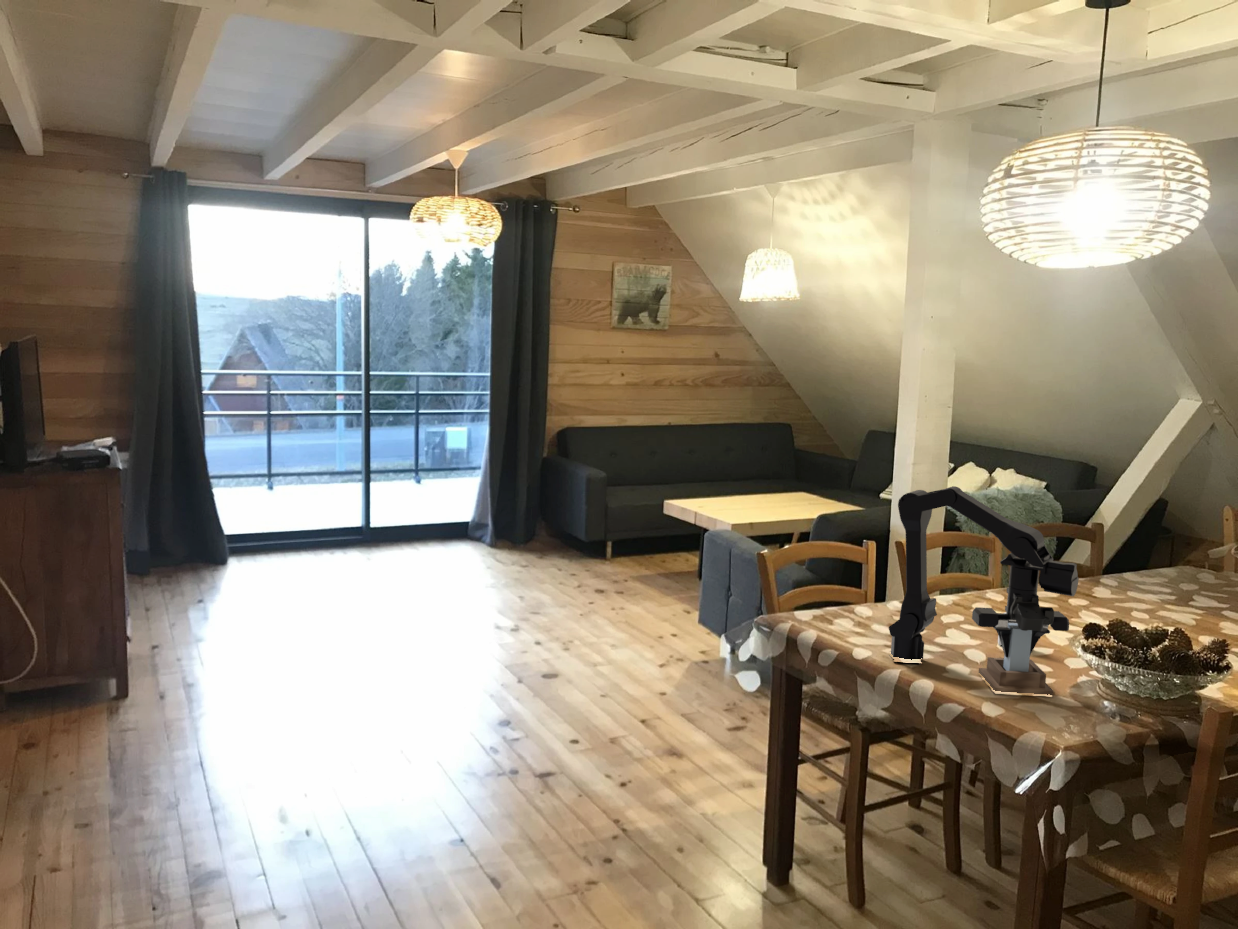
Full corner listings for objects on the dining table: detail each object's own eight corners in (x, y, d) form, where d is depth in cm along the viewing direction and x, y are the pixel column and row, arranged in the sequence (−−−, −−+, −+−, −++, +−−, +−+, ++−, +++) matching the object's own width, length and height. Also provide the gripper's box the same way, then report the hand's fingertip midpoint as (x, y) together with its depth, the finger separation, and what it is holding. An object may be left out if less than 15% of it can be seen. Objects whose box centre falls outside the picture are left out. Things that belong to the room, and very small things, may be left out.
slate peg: (1008, 673, 208) (1012, 628, 207) (1003, 667, 212) (1007, 623, 211) (1028, 674, 208) (1032, 629, 207) (1022, 668, 212) (1026, 623, 211)
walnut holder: (994, 694, 205) (996, 674, 205) (978, 674, 217) (979, 655, 216) (1052, 697, 204) (1054, 677, 204) (1033, 677, 216) (1035, 657, 216)
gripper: (989, 595, 200) (983, 668, 203) (1082, 600, 199) (1075, 672, 201) (974, 581, 211) (968, 650, 214) (1062, 585, 210) (1055, 654, 212)
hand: (1016, 657), depth 210 cm, fingers closed on slate peg, 4 cm apart
